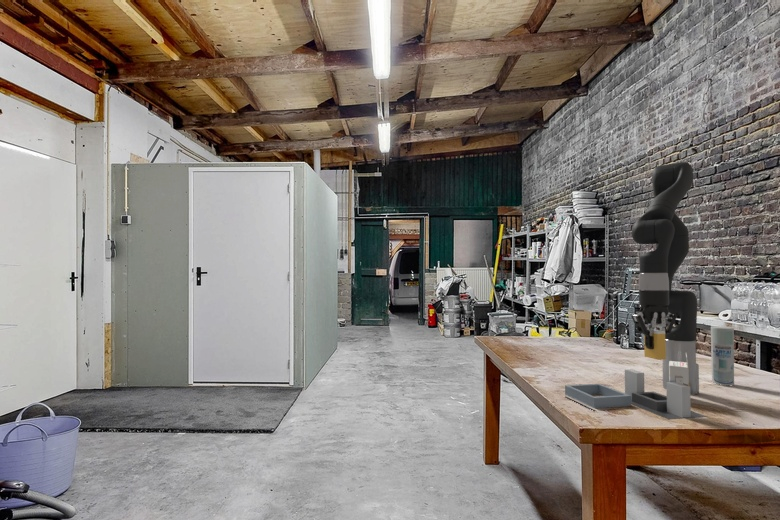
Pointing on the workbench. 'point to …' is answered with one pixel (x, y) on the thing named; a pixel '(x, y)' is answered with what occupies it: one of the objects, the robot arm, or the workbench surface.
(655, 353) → the block
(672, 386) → the fuse block
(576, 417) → the workbench surface
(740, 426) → the workbench surface
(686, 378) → the ink cartridge box
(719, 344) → the spray can
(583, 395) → the tray
